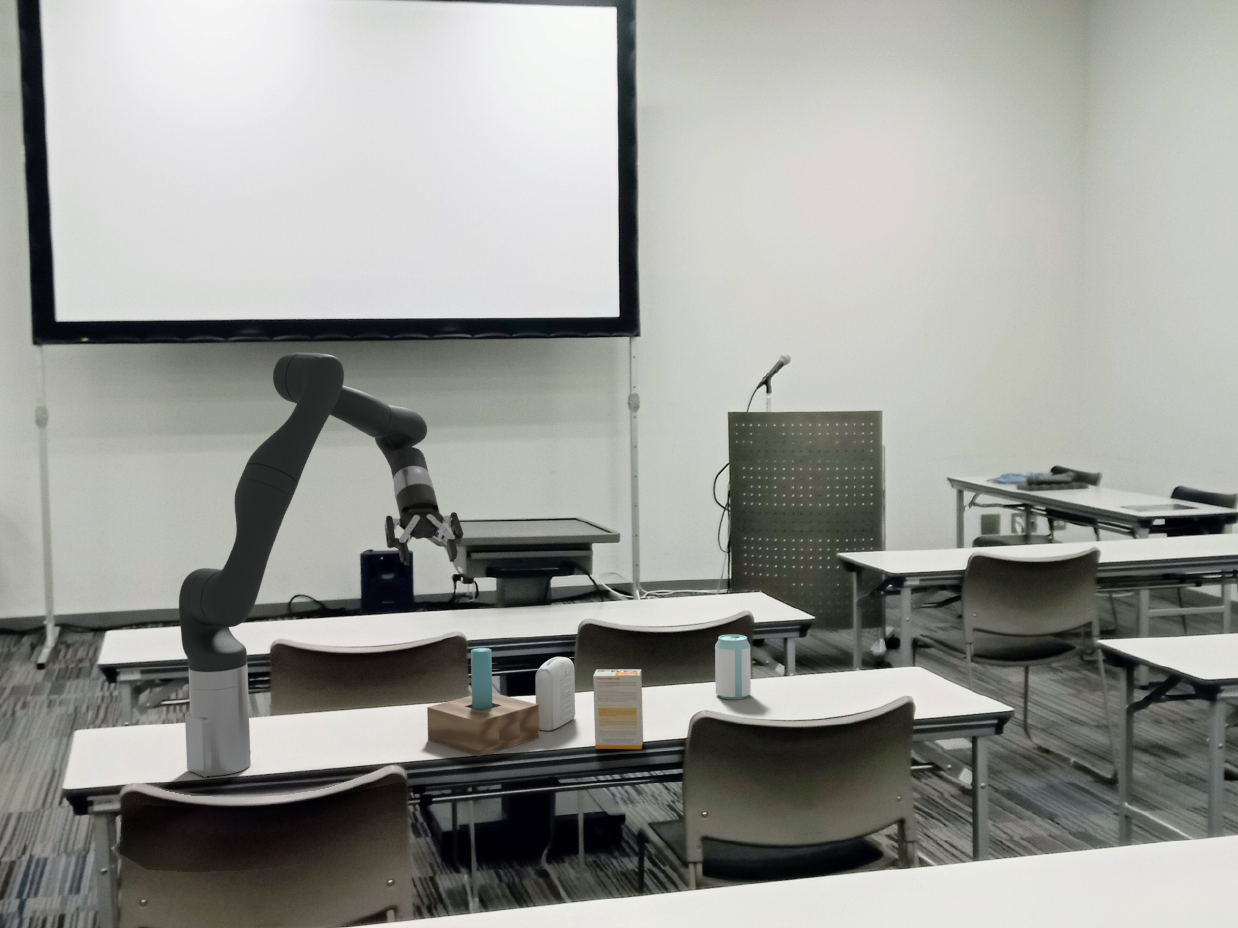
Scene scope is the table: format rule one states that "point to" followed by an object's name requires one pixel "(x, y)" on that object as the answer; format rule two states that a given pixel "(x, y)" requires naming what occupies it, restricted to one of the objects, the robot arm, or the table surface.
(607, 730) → the supplement box
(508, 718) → the socket block
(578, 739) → the table surface
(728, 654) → the can
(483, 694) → the pin
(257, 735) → the table surface
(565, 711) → the photo printer
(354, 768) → the table surface
